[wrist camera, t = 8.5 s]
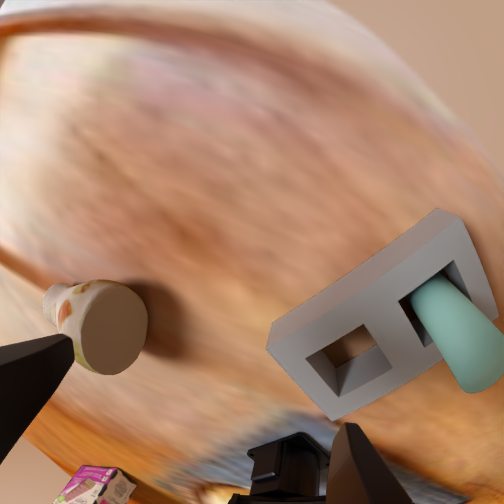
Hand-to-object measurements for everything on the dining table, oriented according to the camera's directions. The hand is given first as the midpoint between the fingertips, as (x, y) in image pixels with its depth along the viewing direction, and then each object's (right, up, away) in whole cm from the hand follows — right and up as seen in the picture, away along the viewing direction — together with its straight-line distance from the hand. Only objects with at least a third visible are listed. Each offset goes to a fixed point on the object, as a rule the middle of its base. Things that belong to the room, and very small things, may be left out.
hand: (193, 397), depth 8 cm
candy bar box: (-21, -31, +27) cm, 46 cm away
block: (+11, 0, +12) cm, 16 cm away
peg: (+13, +2, +11) cm, 17 cm away
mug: (-11, 0, +16) cm, 20 cm away
